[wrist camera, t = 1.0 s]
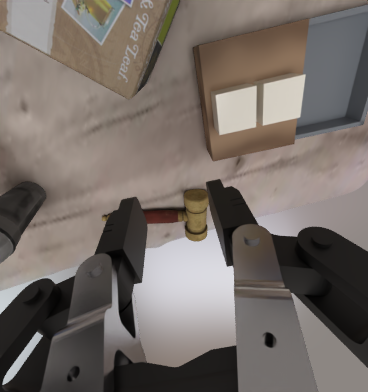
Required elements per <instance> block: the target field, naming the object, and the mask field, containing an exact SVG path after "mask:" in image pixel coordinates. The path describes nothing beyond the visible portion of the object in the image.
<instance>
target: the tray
mask: <svg viewBox="0 0 368 392" xmlns="http://www.w3.org/2000/svg"><path fill="white" fill-rule="evenodd" d="M303 74H306V76H305V84H304V91H303V99H302V107H301V114H300V118H297V125H296V133H295V139H300V138H304V137H309V136H314V135H318V134H323V133H327V132H332V131H337V130H341V129H346V128H351V127H355V126H360V125H363V124H364V121H365V117H366V114H367V111H368V5H364V6H360V7H356V8H352V9H347V10H343V11H339V12H335V13H331V14H327V15H323V16H319V17H314V18H310V19H309V27H308V36H307V44H306V52H305V60H304V68H303Z"/></svg>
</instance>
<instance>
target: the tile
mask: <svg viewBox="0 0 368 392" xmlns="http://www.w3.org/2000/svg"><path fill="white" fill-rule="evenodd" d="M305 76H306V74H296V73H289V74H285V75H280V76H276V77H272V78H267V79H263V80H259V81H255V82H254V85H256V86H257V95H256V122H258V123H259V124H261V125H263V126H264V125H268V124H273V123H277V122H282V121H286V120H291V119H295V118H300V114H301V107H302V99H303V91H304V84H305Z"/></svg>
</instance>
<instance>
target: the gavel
mask: <svg viewBox="0 0 368 392" xmlns="http://www.w3.org/2000/svg"><path fill="white" fill-rule="evenodd" d="M208 204H209V199H208V193H207V192H206V191H205V190H202V189H191V190H188V191H186V192H185V194H184V205H185V207H186V210H184V211H176V210H156V211H143V213H144V215H145V218H146V221H147V224H152V223H174V222H181V221H184V222H186V223H187V224H186V225H185V234H186V237H187V238H188V239H189V240H192V241H201V240H203V239H205V238H206V236H207V225H206V212H207V206H208ZM110 215H111V214H109V215H108V216H107V217H106V216H103V217H102V221H106V220H107V219H108V217H109V216H110Z"/></svg>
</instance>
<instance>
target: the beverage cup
mask: <svg viewBox="0 0 368 392" xmlns="http://www.w3.org/2000/svg"><path fill="white" fill-rule="evenodd" d="M45 199H46V193H45V191H44V190H43V188H41V187H40V186H39V185H37V184H35V183H32V182H23V183H21V184H20V185H18V186H16V187H14V188H13V189H11V190H10V191H8V192H7V193H5V194H3V195H2V196H0V263H1V262H3V261H4V260H5V259H7V258H8V257H9V256H10V255H11V254H13V252H14V251H15V249H16V246H17V244H18V242H19V240H20V238H21V235H22V234H23V232H24V231H25V229H26V228H27V226H28V225H29V223H30V222H31V220H32V219H33V217H34V216H35V214H36V213H37V211H38V210H39V208H40V207H41V205H42V204H43V201H44V200H45Z"/></svg>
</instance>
